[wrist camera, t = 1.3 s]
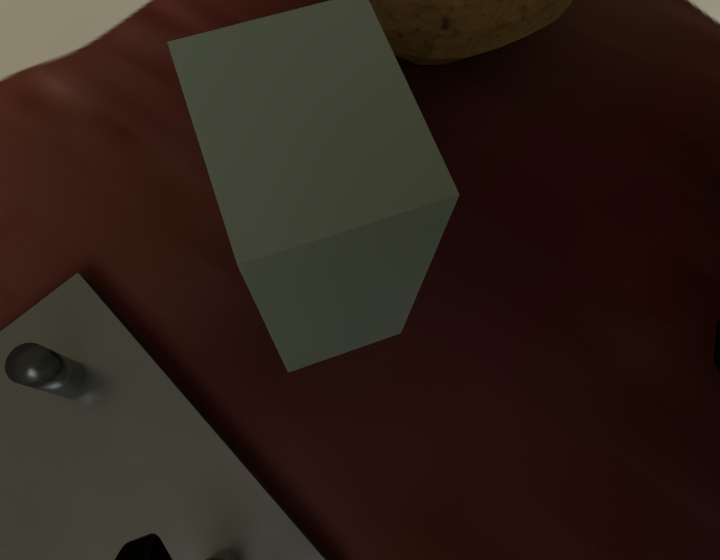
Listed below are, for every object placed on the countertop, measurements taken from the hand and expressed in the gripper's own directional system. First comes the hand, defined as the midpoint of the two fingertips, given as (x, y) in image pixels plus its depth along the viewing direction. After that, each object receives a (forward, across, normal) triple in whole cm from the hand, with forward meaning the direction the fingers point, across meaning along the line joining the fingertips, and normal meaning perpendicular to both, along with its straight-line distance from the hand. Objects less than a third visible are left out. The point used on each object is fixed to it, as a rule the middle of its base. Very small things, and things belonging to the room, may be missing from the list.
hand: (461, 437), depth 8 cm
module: (+16, 0, +5) cm, 17 cm away
